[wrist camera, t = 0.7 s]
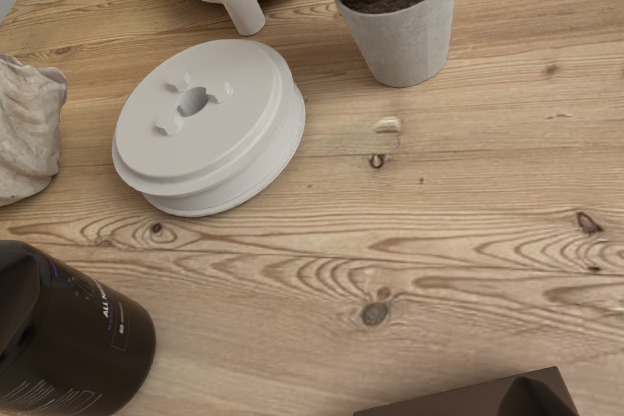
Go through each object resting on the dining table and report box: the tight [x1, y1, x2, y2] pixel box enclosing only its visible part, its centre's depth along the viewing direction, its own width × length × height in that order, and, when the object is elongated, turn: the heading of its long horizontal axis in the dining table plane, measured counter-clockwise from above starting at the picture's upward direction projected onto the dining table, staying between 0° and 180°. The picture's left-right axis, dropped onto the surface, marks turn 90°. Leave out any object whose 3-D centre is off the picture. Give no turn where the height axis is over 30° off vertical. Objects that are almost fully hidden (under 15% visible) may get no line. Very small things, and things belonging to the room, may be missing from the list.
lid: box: [112, 39, 306, 217], centre depth 30 cm, size 13×13×5 cm
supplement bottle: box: [0, 240, 156, 416], centre depth 21 cm, size 7×7×12 cm
